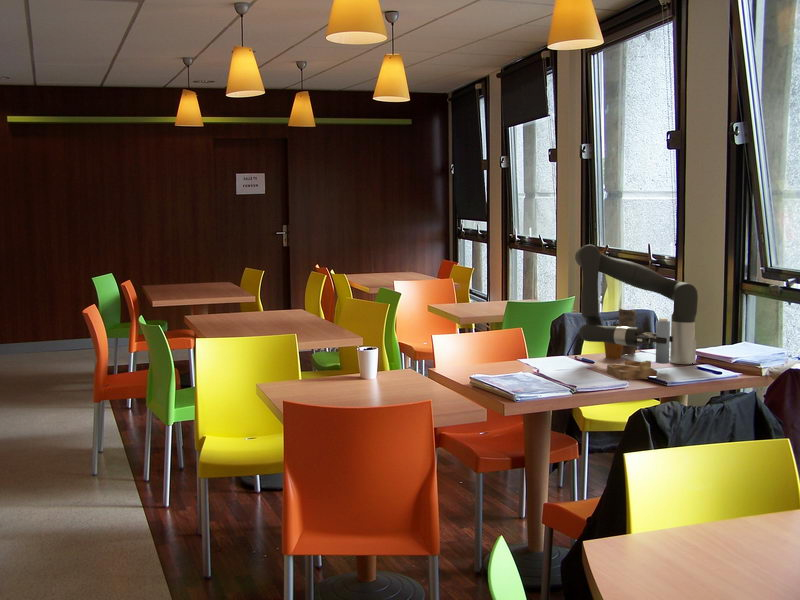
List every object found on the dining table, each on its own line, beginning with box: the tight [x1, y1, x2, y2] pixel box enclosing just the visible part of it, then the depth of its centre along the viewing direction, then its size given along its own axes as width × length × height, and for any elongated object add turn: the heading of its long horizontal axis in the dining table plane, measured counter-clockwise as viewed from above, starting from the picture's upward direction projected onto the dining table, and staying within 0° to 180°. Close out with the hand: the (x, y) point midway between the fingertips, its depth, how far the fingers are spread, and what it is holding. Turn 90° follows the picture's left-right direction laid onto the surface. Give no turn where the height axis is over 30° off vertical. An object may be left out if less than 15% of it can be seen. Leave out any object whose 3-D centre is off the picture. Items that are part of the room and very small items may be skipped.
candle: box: [618, 308, 637, 355], centre depth 366 cm, size 8×7×20 cm
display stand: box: [606, 359, 658, 381], centre depth 316 cm, size 15×15×6 cm
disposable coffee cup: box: [603, 342, 623, 360], centre depth 355 cm, size 10×10×12 cm
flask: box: [655, 317, 671, 365], centre depth 322 cm, size 5×5×17 cm
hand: (669, 340), depth 320 cm, fingers closed on flask, 5 cm apart
